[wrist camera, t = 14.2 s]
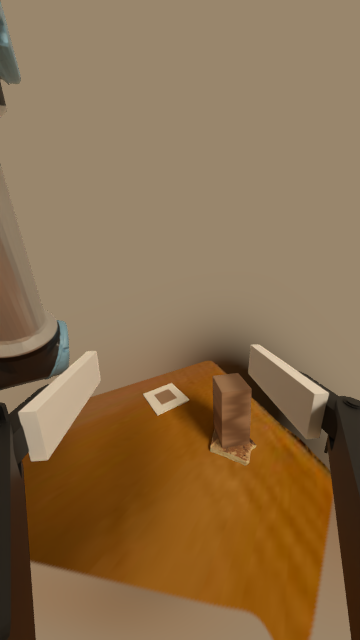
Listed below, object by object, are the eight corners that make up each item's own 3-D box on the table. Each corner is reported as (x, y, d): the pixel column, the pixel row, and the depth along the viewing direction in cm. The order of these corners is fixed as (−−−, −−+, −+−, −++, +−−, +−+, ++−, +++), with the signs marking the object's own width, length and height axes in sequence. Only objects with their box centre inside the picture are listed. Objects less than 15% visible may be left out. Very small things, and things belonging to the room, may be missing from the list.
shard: (221, 413, 40) (221, 406, 40) (256, 424, 37) (257, 417, 36) (208, 454, 30) (208, 445, 30) (254, 473, 27) (255, 464, 27)
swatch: (143, 395, 46) (142, 393, 46) (171, 383, 51) (171, 382, 51) (157, 415, 39) (157, 413, 39) (189, 400, 43) (189, 398, 43)
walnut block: (222, 447, 30) (221, 392, 27) (213, 424, 35) (212, 376, 32) (249, 443, 30) (251, 388, 28) (237, 421, 35) (238, 373, 33)
